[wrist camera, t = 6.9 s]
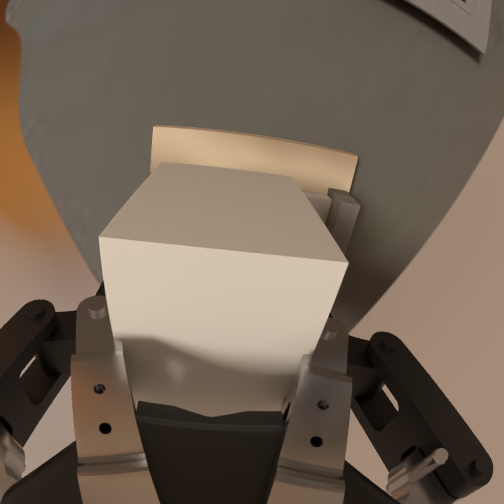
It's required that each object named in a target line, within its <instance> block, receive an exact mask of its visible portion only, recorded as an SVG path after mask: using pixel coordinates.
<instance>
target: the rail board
mask: <svg viewBox="0 0 504 504" xmlns="http://www.w3.org/2000/svg"><path fill="white" fill-rule="evenodd" d="M357 160H358V156H357V155H355V154H353V153H351V152H346V151H342V150H338V149H333V148H329V147H324V146H319V145H314V144H309V143H304V142H299V141H293V140H287V139H282V138H276V137H269V136H263V135H256V134H249V133H242V132H234V131H226V130H217V129H207V128H197V127H185V126H171V125H156V126H154V127H153V138H152V153H151V170H150V174H151V173H152V172H153V171H154V170H155V169H156V168H157V167H158V166H159V164H160V163H161V162H170V163H182V164H193V165H203V166H213V167H222V168H231V169H239V170H247V171H254V172H261V173H268V174H275V175H282V176H288V177H293V178H294V180H295V181H296V183H297V184H298V186H299V187H300V188H301V190H302V191H303V193H304V194H305V196H306V197H307V199H308V200H309V202H310V203H311V205H312V206H313V208H314V209H315V211H316V212H317V214H318V215H319V217H320V218H321V220H322V221H323V223H324V224H325V226H326V227H327V229H328V231H329V232H330V234H331V235H332V237H333V238H334V240H335V242H336V243H337V245H338V246H339V248H340V249H341V251H342V253H343V254H344V256H345V254H346V251H347V248H348V245H349V242H350V239H351V236H352V233H353V229H354V226H355V223H356V220H357V217H358V213H359V210H360V207H361V205H360V204H359V203H358V202H357V201H356V200H355V199H354V198H353V197H352V196H351V195H350V194H349V191H350V187H351V183H352V180H353V176H354V172H355V168H356V164H357ZM150 174H149V175H150ZM149 175H148V176H147V177H146V179H147V178H148V177H149Z"/></svg>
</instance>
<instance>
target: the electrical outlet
mask: <svg viewBox="0 0 504 504" xmlns="http://www.w3.org/2000/svg"><path fill="white" fill-rule="evenodd" d="M404 1H406V2H408V3H409V4H411V5H413V6H415V7H416V8H418V9H420V10H421V11H423V12H424V13H426V14H428V15H429V16H431V17H432V18H434V19H435V20H437V21H438V22H440V23H441V24H443V25H444V26H446V27H447V28H448V29H450V30H451V31H453V32H454V33H455V34H457V35H458V36H459V37H461V38H462V39H463V40H465V41H466V42H467V43H468V44H470V45H471V46H472V47H473V48H475V49H476V50H477V51H478V52H480V53H481V54H482V55H485V53H486V47H487V40H488V33H489V25H490V16H491V5H492V0H404Z"/></svg>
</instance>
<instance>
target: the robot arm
mask: <svg viewBox="0 0 504 504" xmlns="http://www.w3.org/2000/svg"><path fill="white" fill-rule="evenodd" d="M34 355H35V358H36V359H35V360H34V361H33V362H32V364H31V365H30V366H29V367H28V369H27V370H26V371H25V373H24V374H23V375H22V376H21V377H20V374H21V372H22V370H23V369H24V368H25V366H26V365H27V364H28V363H29V361H30V360H31V359H32V358H33V357H34ZM70 376H71V391H72V406H73V407H72V408H73V420H74V430H75V438H76V440H75V441H74V442H73V443H71V444H70V445H69V446H67V447H66V448H64V449H63V450H62V451H60V452H59V453H58V454H56V455H55V456H53V457H52V458H51V459H49V460H48V461H46V462H45V463H44V464H42V465H41V466H39V467H38V468H37V469H35V470H34V471H32V472H31V473H29V474H28V475H27V476H25V477H24V478H22V477H21V474H22V473H23V472H24V470H25V467H26V466H25V453H24V450H23V446H24V445H25V443H26V442H27V440H28V438H29V437H30V435H31V434H32V432H33V431H34V429H35V427H36V426H37V424H38V422H39V421H40V420H41V418H42V416H43V415H44V414H45V412H46V410H47V409H48V407H49V406H50V405H51V403H52V402H53V400H54V398H55V397H56V396H57V394H58V393H59V391H60V390H61V388H62V387H63V386H64V384H65V383H66V381H67V380H68V378H69V377H70ZM19 378H20V379H19ZM385 384H386V386H387V388H388V389H389V390H390V392H391V393H392V395H393V396H394V398H395V399H396V400H397V402H398V406H399V410H398V411H397V410H396V409H395V407H394V406H393V404H392V403H391V401H390V400H389V398H388V397H387V395H386V394H385V392H384V391H383V390H382V387H383V386H384V385H385ZM350 408H351V409H352V411H353V413H354V414H355V416H356V418H357V419H358V421H359V423H360V424H361V426H362V428H363V429H364V431H365V433H366V434H367V436H368V438H369V439H370V441H371V443H372V444H373V446H374V448H375V449H376V451H377V453H378V454H379V456H380V458H381V460H382V461H383V463H384V464H385V466H386V468H387V469H388V471H389V475H388V484H387V486H386V491H387V493H386V492H385V491H384V490H382V489H381V488H380V487H378V486H377V485H376V484H374V483H373V482H372V481H370V480H369V479H368V478H367V477H365V476H364V475H363V474H362V473H360V472H359V471H358V470H357V469H355V468H354V467H353V466H352V465H351V464H349V463H348V462H347V461H346V460H345V453H346V445H347V436H348V428H349V418H350ZM492 474H493V463H492V460H491V458H490V456H489V455H488V453H487V452H486V450H485V449H484V447H483V446H482V445H481V443H480V442H479V440H478V439H477V438H476V436H475V435H474V434H473V432H472V431H471V429H470V428H469V426H468V425H467V424H466V422H465V421H464V420H463V418H462V417H461V416H460V414H459V413H458V412H457V410H456V409H455V408H454V406H453V405H452V404H451V402H450V401H449V400H448V398H447V397H446V396H445V394H444V393H443V392H442V391H441V389H440V388H439V387H438V385H437V384H436V383H435V382H434V380H433V379H432V378H431V377H430V375H429V374H428V373H427V372H426V370H425V369H424V368H423V367H422V365H421V364H420V363H419V362H418V360H417V359H416V358H415V357H414V356H413V354H412V353H411V352H410V351H409V349H408V348H407V347H406V346H405V345H404V343H403V342H402V341H401V340H400V339H399V338H398V337H396V336H395V335H393V334H391V333H388V332H377V333H375V334H373V336H372V337H371V339H370V341H368V340H364V339H360V338H356V337H353V336H350V335H349V334H348V330H347V328H346V327H345V326H344V325H343V324H342V323H341V322H339V321H338V320H336V319H333V318H332V316H331V313H330V314H329V316H328V319H327V321H326V324H325V326H324V328H323V331H322V333H321V336H320V338H319V340H318V343H317V345H316V347H315V350H314V352H313V354H303V355H302V357H301V360H300V362H299V364H298V368H297V372H296V376H295V379H294V382H293V385H292V388H291V390H290V392H289V394H288V396H285V397H284V399H283V401H282V404H281V407H280V410H279V411H244V412H238V413H233V414H227V415H221V416H215V417H208V416H204V415H201V414H198V413H194V412H191V411H188V410H185V409H182V408H179V407H176V406H173V405H165V404H157V403H150V402H144V401H138V404H137V408H136V403H135V399H134V394H133V390H132V386H131V384H130V381H129V377H128V372H127V367H126V362H125V356H124V350H123V345H122V339H120V338H114V337H113V333H112V328H111V322H110V317H109V311H108V305H107V299H106V293H105V286H104V280H103V282H102V284H101V286H100V288H99V290H98V291H97V293H96V295H95V296H92V297H89V298H87V299H85V300H83V301H82V302H81V303H80V304H79V305H78V308H77V310H75V311H68V312H67V311H66V312H55V309H54V306H53V304H52V303H51V302H49V301H47V300H34V301H31V302H29V303H27V304H25V305H24V306H23V307H22V308H21V309H20V310H19V311H18V312H17V313H16V314H15V315H14V316H13V317H12V318H11V319H10V320H9V321H8V322H7V323H6V324H5V325H4V326H3V327H2V328H1V329H0V504H453V503H455V502H457V501H459V500H461V499H462V498H464V497H466V496H468V495H469V494H471V493H473V492H474V491H476V490H478V489H479V488H481V487H483V486H484V485H486V484H487V483H488V482H489V481H490V479H491V477H492ZM390 495H391V496H390Z"/></svg>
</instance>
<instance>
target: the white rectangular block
mask: <svg viewBox="0 0 504 504" xmlns="http://www.w3.org/2000/svg"><path fill="white" fill-rule="evenodd" d="M99 245H100V255H101V264H102V272H103V279H104V286H105V293H106V299H107V305H108V311H109V317H110V322H111V328H112V333H113V337H114V338H120V339H122V345H123V350H124V356H125V362H126V367H127V372H128V377H129V381H130V384H131V386H132V390H133V394H134V399H135V403H136V408H137V404H138V401H144V402H150V403H157V404H165V405H173V406H176V407H179V408H182V409H185V410H188V411H191V412H194V413H198V414H201V415H204V416H208V417H215V416H221V415H227V414H233V413H238V412H244V411H279V410H280V407H281V404H282V401H283V399H284V397H285V396H288V394H289V392H290V390H291V388H292V385H293V382H294V379H295V376H296V372H297V368H298V364H299V362H300V360H301V357H302V355H303V354H313V352H314V350H315V347H316V345H317V343H318V340H319V338H320V336H321V333H322V331H323V328H324V326H325V324H326V321H327V319H328V316H329V314H330V311H331V309H332V306H333V304H334V301H335V298H336V296H337V293H338V290H339V288H340V285H341V282H342V280H343V277H344V274H345V271H346V269H347V266H348V263H349V262H348V261H347V259H346V258H345V256H344V254H343V253H342V251H341V249H340V248H339V246H338V245H337V243H336V242H335V240H334V238H333V237H332V235H331V234H330V232H329V231H328V229H327V227H326V226H325V224H324V223H323V221H322V220H321V218H320V217H319V215H318V214H317V212H316V211H315V209H314V208H313V206H312V205H311V203H310V202H309V200H308V199H307V197H306V196H305V194H304V193H303V191H302V190H301V188H300V187H299V186H298V184H297V183H296V181H295V180H294V178H293V177H288V176H282V175H275V174H268V173H261V172H254V171H247V170H239V169H231V168H222V167H213V166H203V165H193V164H182V163H170V162H161V163H160V164H159V166H158V167H157V168H156V169H155V170H154V171H153V172H152V173H151V174H150V175H149V177H148V178H147V179H146V180H145V181H144V182H143V183H142V184H141V186H140V187H139V188H138V189H137V190H136V191H135V193H134V194H133V195H132V196H131V197H130V198H129V200H128V201H127V202H126V203H125V204H124V206H123V207H122V208H121V209H120V210H119V212H118V213H117V214H116V215H115V217H114V218H113V219H112V220H111V222H110V223H109V224H108V225H107V227H106V228H105V229H104V231H103V232H102V233H101V234H100V236H99Z"/></svg>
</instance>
